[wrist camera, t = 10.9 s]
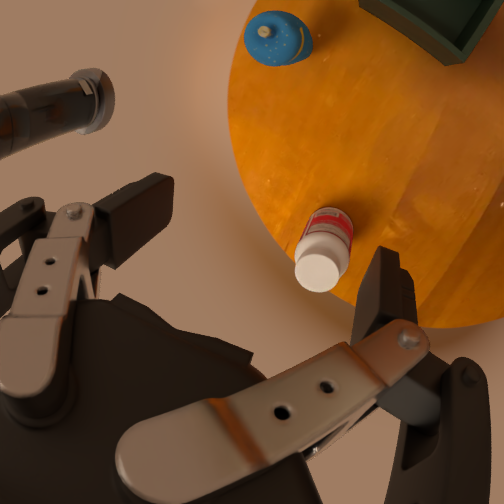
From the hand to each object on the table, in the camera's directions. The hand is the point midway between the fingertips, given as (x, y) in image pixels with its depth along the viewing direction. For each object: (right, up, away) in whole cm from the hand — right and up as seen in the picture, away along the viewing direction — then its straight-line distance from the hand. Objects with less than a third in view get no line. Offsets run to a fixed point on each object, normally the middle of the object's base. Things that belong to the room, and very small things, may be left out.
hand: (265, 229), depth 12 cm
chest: (+19, +27, +11) cm, 34 cm away
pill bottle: (+10, +2, +30) cm, 31 cm away
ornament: (+5, +22, +19) cm, 30 cm away
